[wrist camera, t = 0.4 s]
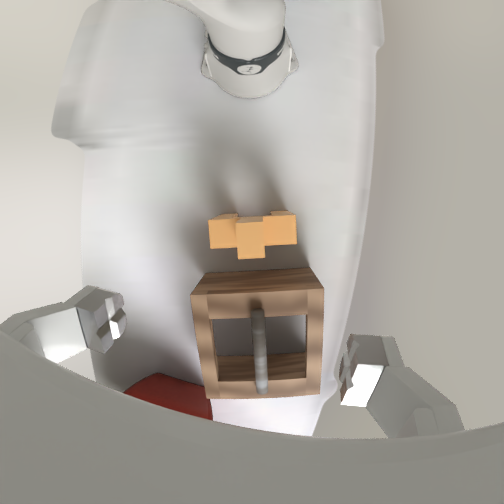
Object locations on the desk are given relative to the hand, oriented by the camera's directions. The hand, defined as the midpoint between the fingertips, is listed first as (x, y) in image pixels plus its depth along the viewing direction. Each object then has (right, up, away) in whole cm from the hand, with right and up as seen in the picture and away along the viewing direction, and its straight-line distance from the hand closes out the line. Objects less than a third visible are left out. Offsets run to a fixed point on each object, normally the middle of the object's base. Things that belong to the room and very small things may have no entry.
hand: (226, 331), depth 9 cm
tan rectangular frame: (+3, -11, +48) cm, 49 cm away
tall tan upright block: (+1, +8, +44) cm, 45 cm away
